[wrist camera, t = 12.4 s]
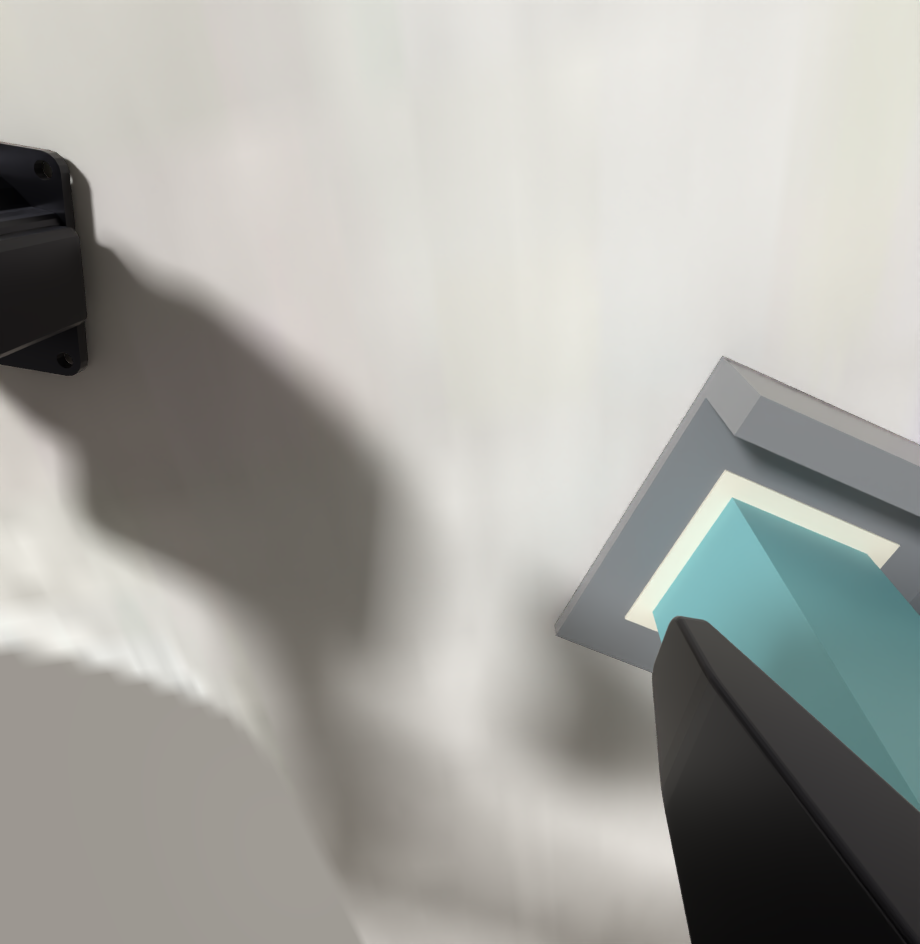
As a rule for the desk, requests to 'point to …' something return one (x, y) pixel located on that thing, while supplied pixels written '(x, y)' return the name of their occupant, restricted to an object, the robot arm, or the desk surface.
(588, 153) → the desk surface
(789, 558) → the block
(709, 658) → the robot arm
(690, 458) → the tray
